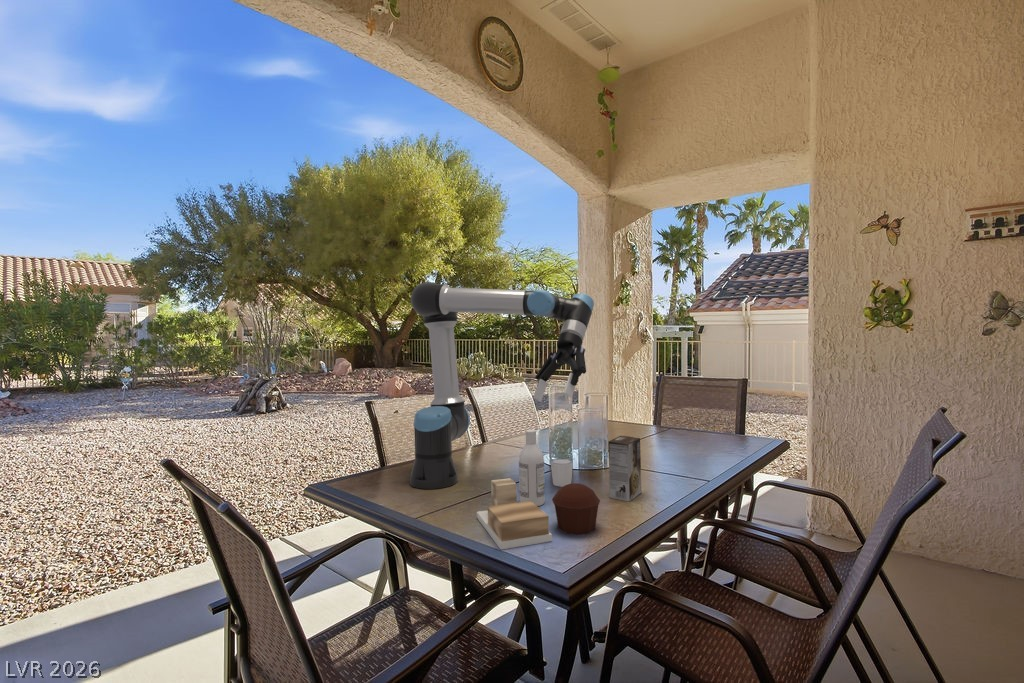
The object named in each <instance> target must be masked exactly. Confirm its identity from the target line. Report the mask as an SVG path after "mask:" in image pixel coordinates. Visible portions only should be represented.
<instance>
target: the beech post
mask: <svg viewBox="0 0 1024 683" xmlns="http://www.w3.org/2000/svg"><path fill="white" fill-rule="evenodd" d="M490 483H491V484H490V486H491V487H490V489H491V490H490V492H491V493H490V494H491V506H496V505H503V504H511V503H518V501H517V483H516V482H515V480H513V479H512V478H510V477H509V478H503V479H501V478H500V479H492V480H490Z"/></svg>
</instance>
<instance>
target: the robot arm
mask: <svg viewBox="0 0 1024 683" xmlns="http://www.w3.org/2000/svg"><path fill="white" fill-rule="evenodd" d="M410 303H411V307H412V309H413V310H414V312H415V313H416V314H418V315H419V316H421V317H423V318H422V319H423V325H424V326H425V327H426V328H427V329H428V335H429V337H428V338H429V346H430V358H431V359H430V360H431V369H432V370H431V371H432V372H431V373H432V381H433V394H434V398H433V400H432V401H431V402H430V406H428V407H423V408H420V409H418V410H417V411H416V412H415V413H414V421H413V428H414V429H413V431H414V462H413V464H412V468H411V470H410V471H411V472H410V476H409V485H410V486H411V487H413V488H416V489H421V490H423V489H424V490H434V489H435V490H436V489H443V488H448V487H450V486H453V485H456V484H457V483H458V481H459V475H458V470H457V467H456V465H455V463H454V462H455V461H454V459H453V453H452V452H453V448H452V447H453V446H452V445H453V443H452V442H453V441H455V440H457V439H460V438H461V437H462V436H463V435H464V434H466V432H467V431H468V429H469V427H470V422H471V418H470V413H469V410H467V409H466V407H465V399H464V398H463V397H462V396H461V395H460V387H459V377H458V368H457V367H458V363H457V354H456V352H457V351H456V340H455V330H454V328H455V326H456V325H457V324H458V313H470V314H471V313H473V314H474V313H475V314H477V313H478V314H496V315H498V314H499V315H500V314H501V315H517V316H518V315H522V316H523V315H524V316H525V315H526V316H538V317H539V316H540V317H544V318H545V317H546V318H550V319H555V320H560V321H563V324H562V326H561V329H560V333H559V336H558V339H557V341H556V342H557V343H556V346H557V351H556V352H552V351H551V352H549V354H548V356H547V359H546V360H545V361H544V363H543V364H542V366H541V368H540V369H539V371H538V372H537V374H536V375H535V378H534V379H535V380H537V381H538V382H537V385H536V387H535V391H534V394H533V399H534V400H536V401H538V402H539V403H541V402H542V400H543V397H544V395H545V392H546V388H547V385H548V380H549V379H550V378H551V377H552V376H553V375H554V373H555V372H556V371H557V369H560V368H561V367H563V366H564V365H569V367H570V369H571V372H570V373H569V375H568V379H567V382H566V384H565V386H564V387H565V388H564V390H563V394H564V395H566V396H567V397H569V398H572V397H573V396H574V392H575V388H576V386H577V384H578V381H579V378H580V377H581V375H582V374H584V375H585V374H586V373H587V367H586V366H587V365H586V358H585V353H586V349H585V348H584V347H583V346H582V345H583V341H584V339H585V336H586V333H587V332H586V331H587V329H588V327H589V323H590V319H591V318H592V314H593V310H594V305H595V302H594V299H593V298H592V297H591V296H590V295H589V294H586V293H584V292H583V293H582V292H581V293H578V292H577V293H575V294H573V296H572V297H571V298H570V297H563V296H560V295H559V296H558V295H556V294H552V293H551V292H549V291H548V290H546V289H536V290H533V289H531V290H525V289H502V288H501V289H495V288H474V287H473V288H469V287H467V288H466V287H450V286H449V284H447V283H445V284H444V283H443V284H441V283H435V282H431V281H426V282H422V283H420V284H418V285H417V286H415V287H414V289H413V290H412V292H411V295H410Z"/></svg>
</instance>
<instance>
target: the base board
mask: <svg viewBox="0 0 1024 683" xmlns="http://www.w3.org/2000/svg"><path fill="white" fill-rule="evenodd" d="M476 518H477V520H478V521H479V522H480V524H481V525H482V527H483V528H484V530H486V532H487V534H488V535H489V536H490V538H491V539H492V540H493V541H494V543H495V544H496V546H497V547H498V548H499V550H507V549H513V548H517V547H524V546H531V545H536V544H537V545H538V544H543V543H548V542H549V543H550V542H552V541H553V534H552V533H551V532H550V531H549V534H545V535H539V536H533V537H527V538H520V539H514V540H508V541H501V540H500V538H499V537H498V536H497V534H496V533H495V532H494V531H493V529H492V528H491V527H490V525H489V524H488V509H487V510H479V511H476Z"/></svg>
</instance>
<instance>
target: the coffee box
mask: <svg viewBox="0 0 1024 683" xmlns="http://www.w3.org/2000/svg"><path fill="white" fill-rule="evenodd" d="M607 443H608V488H609V489H608V490H609V493H608V494H609V498H610V499H614V500H619V501H624V502H631V501H633V500H634V499H635V498H636V497H638V496H639V495H640V494H641V493H642V465H641V464H642V463H641V462H642V461H641V438H640V437H633V436H627V435H619V436H616V437H615V438H612V439H611V440H608V442H607Z"/></svg>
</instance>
